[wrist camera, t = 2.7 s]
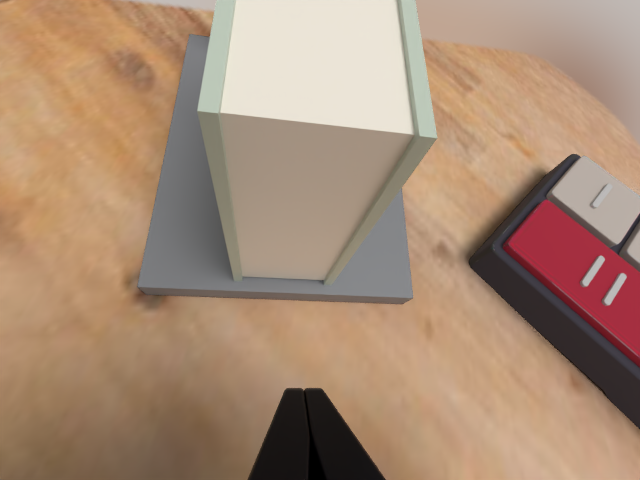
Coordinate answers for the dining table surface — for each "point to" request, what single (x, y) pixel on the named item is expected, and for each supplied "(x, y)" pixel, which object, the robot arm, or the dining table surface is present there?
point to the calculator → (576, 272)
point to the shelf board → (208, 237)
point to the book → (311, 127)
